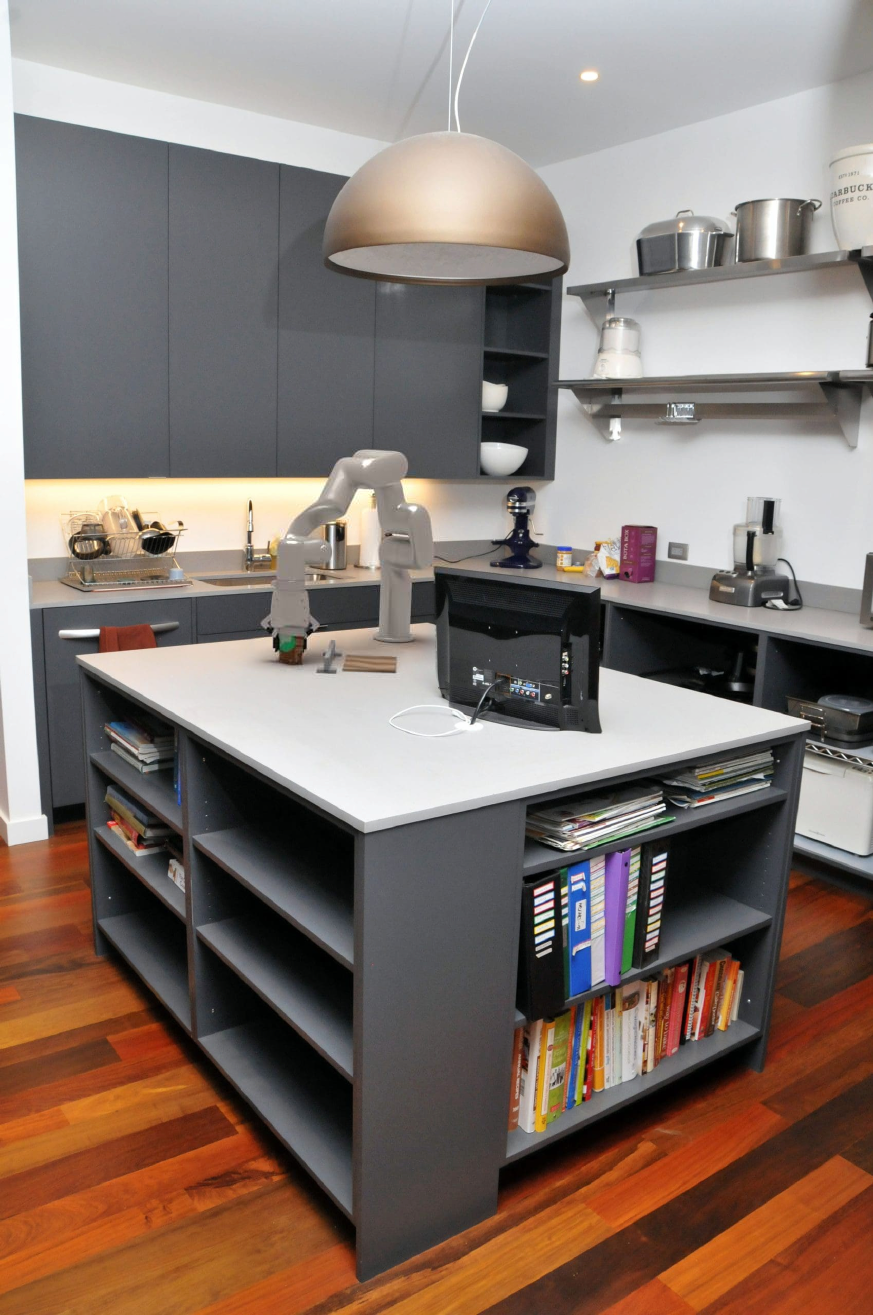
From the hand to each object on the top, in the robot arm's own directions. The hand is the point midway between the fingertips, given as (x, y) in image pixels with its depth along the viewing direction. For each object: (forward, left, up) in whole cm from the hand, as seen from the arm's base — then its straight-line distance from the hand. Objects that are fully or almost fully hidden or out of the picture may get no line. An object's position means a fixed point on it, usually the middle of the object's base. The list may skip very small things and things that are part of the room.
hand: (289, 651), depth 270 cm
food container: (0, -1, -3) cm, 3 cm away
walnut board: (0, +22, -3) cm, 22 cm away
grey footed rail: (0, +11, -3) cm, 11 cm away
